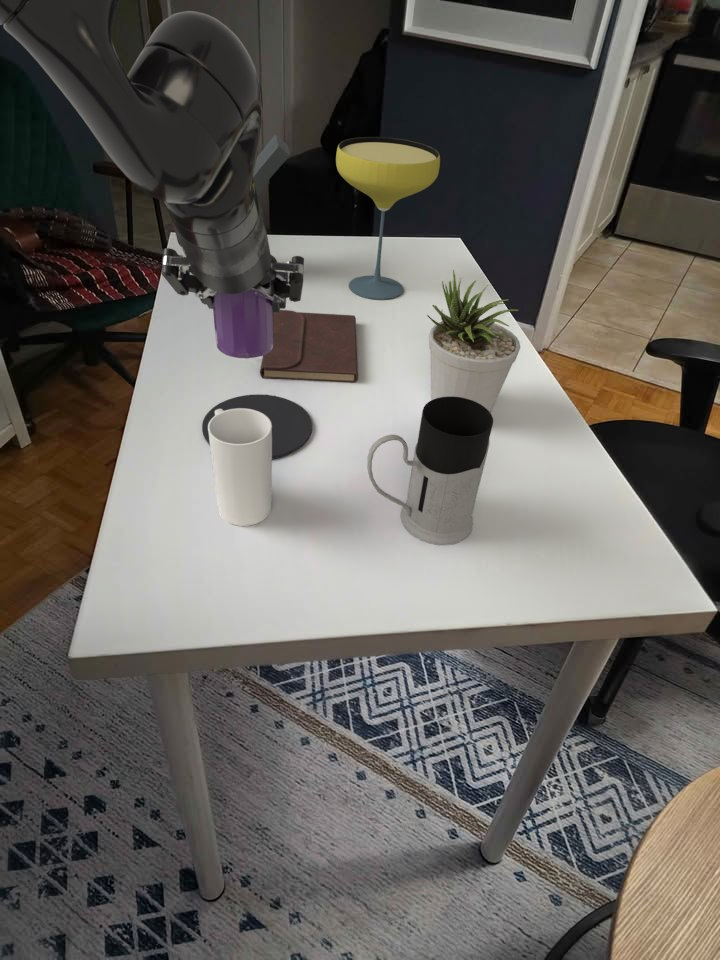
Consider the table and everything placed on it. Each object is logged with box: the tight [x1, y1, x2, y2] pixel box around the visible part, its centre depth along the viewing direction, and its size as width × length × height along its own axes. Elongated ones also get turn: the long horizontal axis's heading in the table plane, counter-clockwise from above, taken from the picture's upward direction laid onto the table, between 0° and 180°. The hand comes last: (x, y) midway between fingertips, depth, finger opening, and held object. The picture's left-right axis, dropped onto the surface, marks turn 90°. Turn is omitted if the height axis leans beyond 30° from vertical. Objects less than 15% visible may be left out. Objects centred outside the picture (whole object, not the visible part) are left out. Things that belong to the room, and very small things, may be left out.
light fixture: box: [253, 134, 291, 198], centre depth 121 cm, size 11×17×24 cm, turn 99°
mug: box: [208, 408, 273, 527], centre depth 74 cm, size 10×7×12 cm, turn 35°
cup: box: [212, 292, 274, 359], centre depth 71 cm, size 6×6×9 cm
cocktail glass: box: [335, 136, 441, 301], centre depth 119 cm, size 18×18×25 cm
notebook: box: [259, 309, 359, 383], centre depth 106 cm, size 15×20×2 cm
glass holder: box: [366, 396, 494, 546], centre depth 72 cm, size 9×14×15 cm, turn 111°
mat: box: [201, 393, 313, 460], centre depth 89 cm, size 15×15×1 cm
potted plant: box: [426, 269, 521, 413], centre depth 90 cm, size 13×14×20 cm
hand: (245, 302), depth 73 cm, fingers closed on cup, 6 cm apart
